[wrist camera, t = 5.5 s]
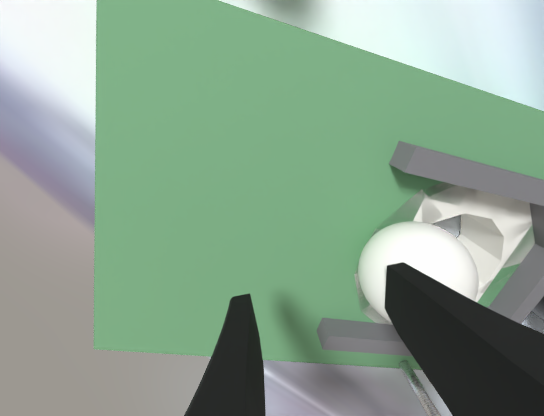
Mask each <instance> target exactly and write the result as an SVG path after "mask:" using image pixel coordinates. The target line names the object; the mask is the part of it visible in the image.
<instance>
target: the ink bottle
mask: <svg viewBox="0 0 544 416" xmlns="http://www.w3.org/2000/svg"><path fill="white" fill-rule="evenodd" d="M532 312H533V313H534V314H536V315H537V316H538V317H539V318H541V319H542V320H543V321H544V296H543V298H542V299H541V300H540V301H539V302H538V304H537V305H536V306H535V307H534V309H533V310H532Z"/></svg>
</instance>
